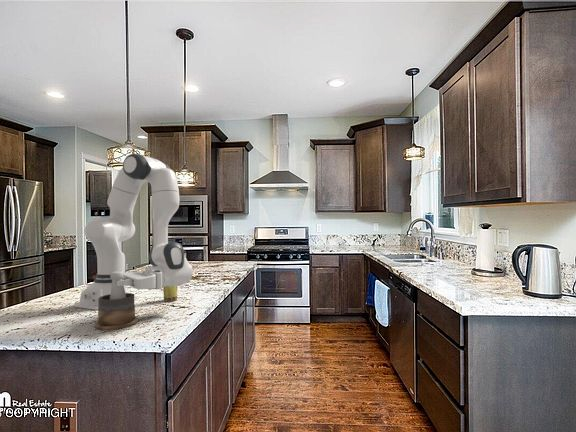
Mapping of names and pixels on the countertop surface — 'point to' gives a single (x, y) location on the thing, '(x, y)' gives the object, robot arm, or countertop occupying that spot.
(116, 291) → the salt shaker
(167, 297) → the sauce bottle
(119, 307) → the brown pot
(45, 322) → the countertop surface
